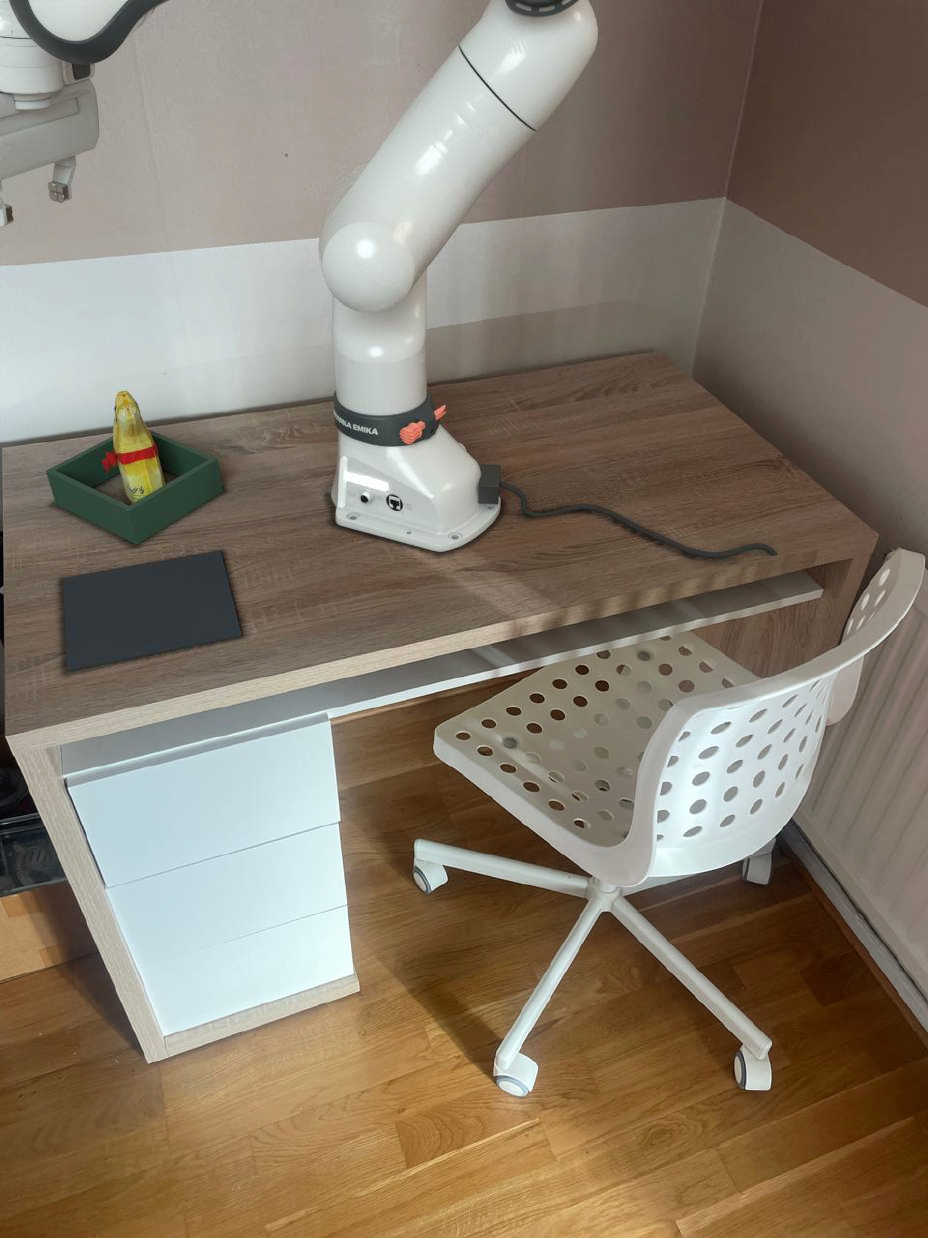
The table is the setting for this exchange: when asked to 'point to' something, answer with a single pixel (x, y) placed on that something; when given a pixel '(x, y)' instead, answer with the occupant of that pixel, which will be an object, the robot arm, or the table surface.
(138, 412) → the chocolate bunny
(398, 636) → the table surface
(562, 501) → the table surface
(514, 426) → the table surface
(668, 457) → the table surface
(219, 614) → the mat
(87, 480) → the crate
